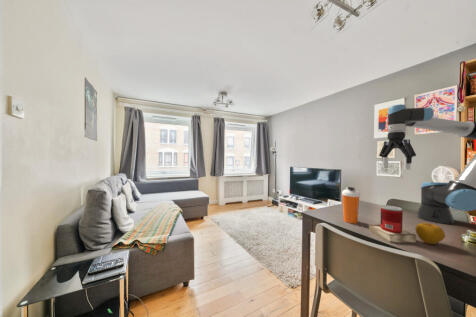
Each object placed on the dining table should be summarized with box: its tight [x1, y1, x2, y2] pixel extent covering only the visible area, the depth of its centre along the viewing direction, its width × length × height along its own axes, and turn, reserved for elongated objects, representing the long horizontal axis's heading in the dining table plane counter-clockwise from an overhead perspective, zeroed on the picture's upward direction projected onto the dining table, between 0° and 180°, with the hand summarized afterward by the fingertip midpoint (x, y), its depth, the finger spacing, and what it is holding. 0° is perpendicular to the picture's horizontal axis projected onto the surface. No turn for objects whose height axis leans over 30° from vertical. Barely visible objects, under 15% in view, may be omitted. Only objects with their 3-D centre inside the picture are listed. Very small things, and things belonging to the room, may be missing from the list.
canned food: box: [379, 204, 404, 233], centre depth 84 cm, size 8×8×11 cm
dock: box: [368, 224, 417, 243], centre depth 84 cm, size 12×12×3 cm
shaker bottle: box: [341, 186, 361, 225], centre depth 103 cm, size 9×9×20 cm
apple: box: [415, 222, 446, 245], centre depth 77 cm, size 9×9×9 cm
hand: (395, 168), depth 101 cm, fingers open, 13 cm apart
